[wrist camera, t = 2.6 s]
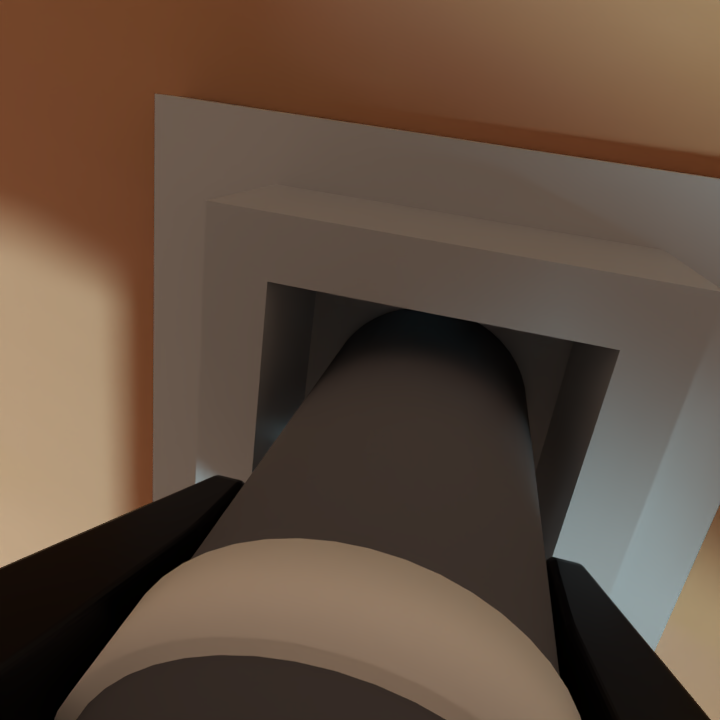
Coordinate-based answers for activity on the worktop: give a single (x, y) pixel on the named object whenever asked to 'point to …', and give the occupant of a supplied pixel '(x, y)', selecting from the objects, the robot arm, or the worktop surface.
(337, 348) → the narrow cubby shelf
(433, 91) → the worktop surface
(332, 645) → the dark grey cylinder
